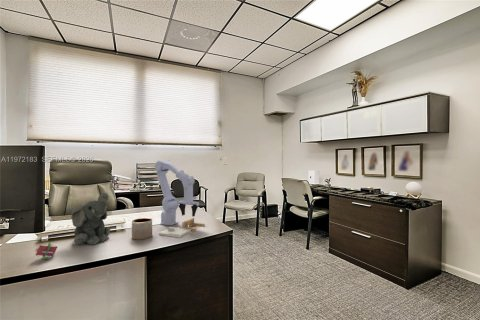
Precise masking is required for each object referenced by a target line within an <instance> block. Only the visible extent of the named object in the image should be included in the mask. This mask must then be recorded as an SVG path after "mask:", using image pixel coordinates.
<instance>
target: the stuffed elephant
mask: <svg viewBox="0 0 480 320" xmlns="http://www.w3.org/2000/svg"><path fill="white" fill-rule="evenodd" d="M108 200H109V194H108V193H107V192H102V193H101V194H99V196H98V198H97V200H91V201H88V202H86V204H84V205H80V206H78V207H75V208H72V210H71V215H70V216H71V221H72V226H73V227H74V228H75V230H74V231H73V232H74V234H73V235H74V238H73V239H74V240H73V242H74V243H75V244H76V245H83V244H85V243H86V244H88V245H95V244H97V243H98V242H99V243H101V242H105V241H106V240H107V239H108V237H109V235H110V232H111V228H110V227H109V226H107V227H105V222H104V221H105V220H106V219H107V217H108V212H107V209H108V206H106V203H107V201H108Z"/></svg>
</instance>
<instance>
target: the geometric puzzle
mask: <svg viewBox="0 0 480 320" xmlns="http://www.w3.org/2000/svg"><path fill="white" fill-rule="evenodd" d="M57 249H58V246H57V245H55V246H54V245H53V244H52V243H51V242H50V241H49V242H48V243H47V245H44V244H41V245H39V246H37V247H36V249H35V256H37V257H38V258H41V257H43V258H42V260H45V259H46V258H47V257H50V256H51V257H54V256H55V254H56V251H57Z"/></svg>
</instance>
